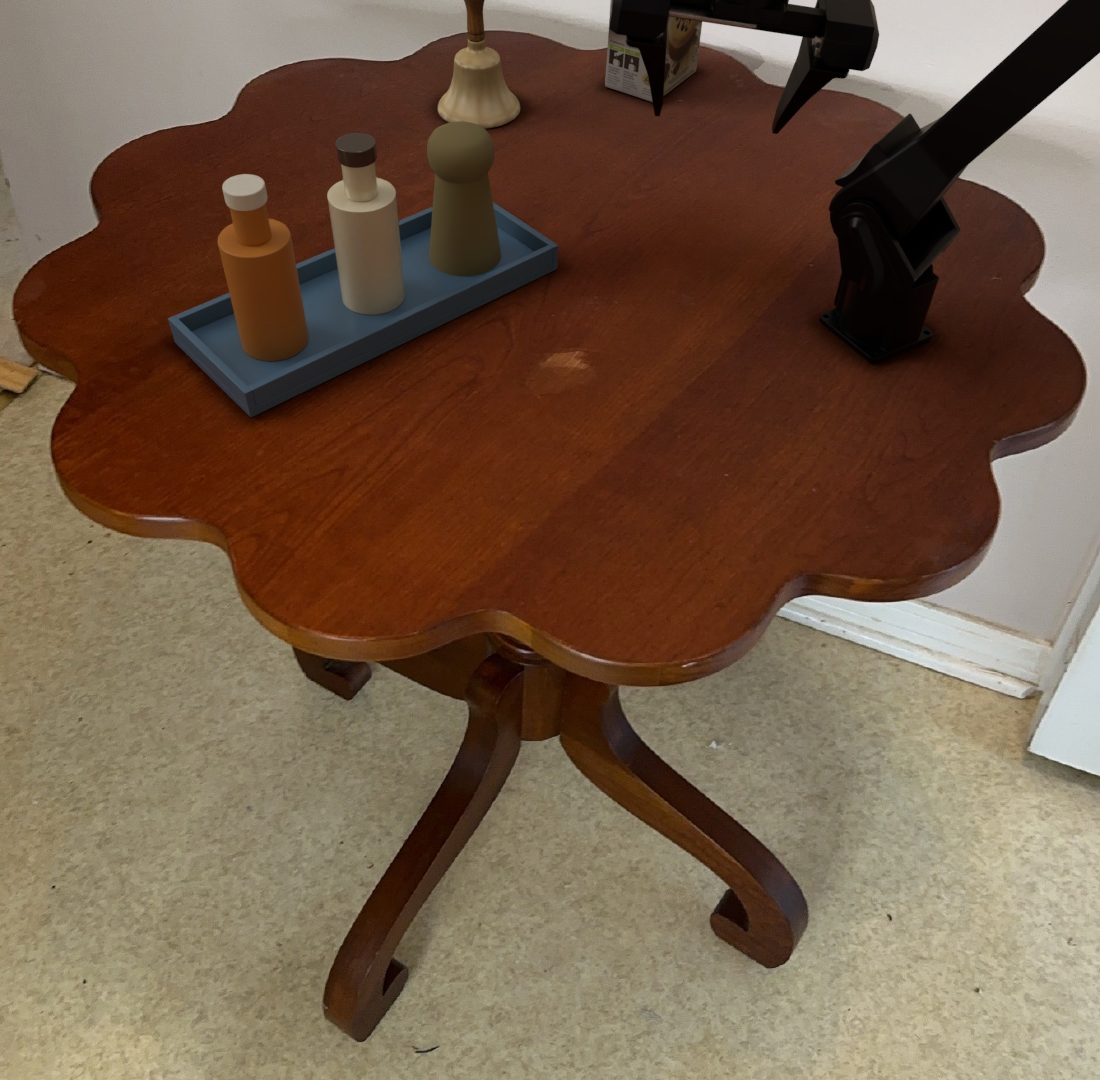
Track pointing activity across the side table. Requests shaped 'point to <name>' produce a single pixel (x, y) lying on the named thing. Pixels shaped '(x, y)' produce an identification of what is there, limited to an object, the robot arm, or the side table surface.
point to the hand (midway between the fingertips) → (715, 122)
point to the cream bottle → (365, 230)
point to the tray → (356, 314)
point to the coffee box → (629, 67)
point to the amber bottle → (261, 274)
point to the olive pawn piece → (462, 200)
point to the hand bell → (478, 80)
